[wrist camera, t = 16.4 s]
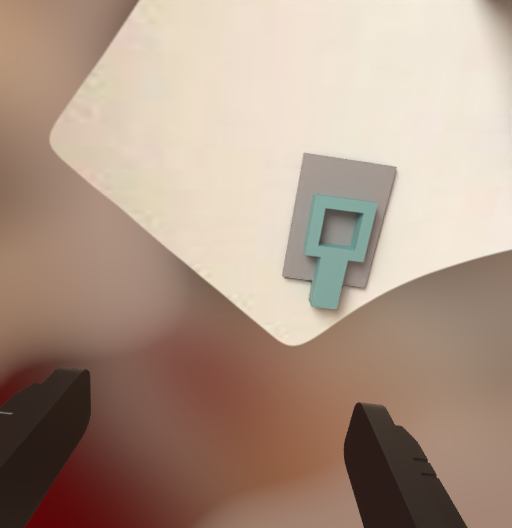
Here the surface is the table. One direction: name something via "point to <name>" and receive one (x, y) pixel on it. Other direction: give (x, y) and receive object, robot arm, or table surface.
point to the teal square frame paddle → (335, 247)
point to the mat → (336, 211)
